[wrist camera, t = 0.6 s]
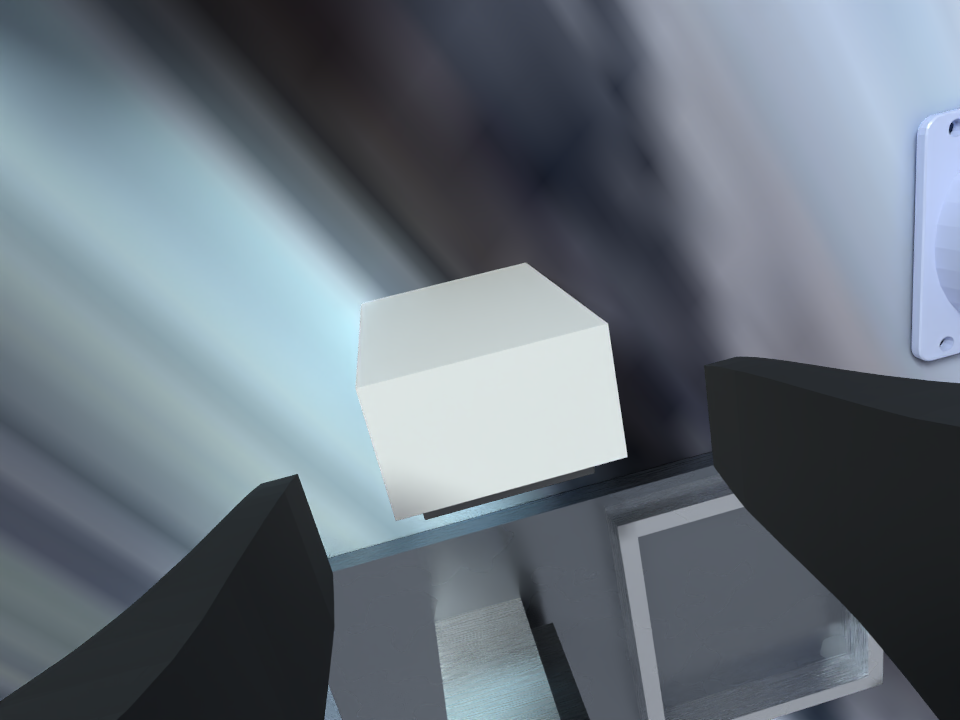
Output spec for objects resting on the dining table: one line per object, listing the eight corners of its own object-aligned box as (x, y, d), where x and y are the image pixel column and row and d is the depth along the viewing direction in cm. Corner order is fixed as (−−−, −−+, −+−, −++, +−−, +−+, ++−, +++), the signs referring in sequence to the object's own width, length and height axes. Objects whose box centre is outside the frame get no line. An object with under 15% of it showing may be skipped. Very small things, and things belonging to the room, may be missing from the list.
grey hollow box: (853, 412, 22) (1085, 539, 15) (855, 649, 26) (1042, 843, 19) (292, 568, 21) (249, 795, 14) (380, 797, 25) (383, 1072, 17)
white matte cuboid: (361, 302, 18) (355, 388, 12) (525, 262, 19) (608, 323, 12) (394, 418, 20) (405, 552, 13) (547, 378, 20) (632, 489, 14)
